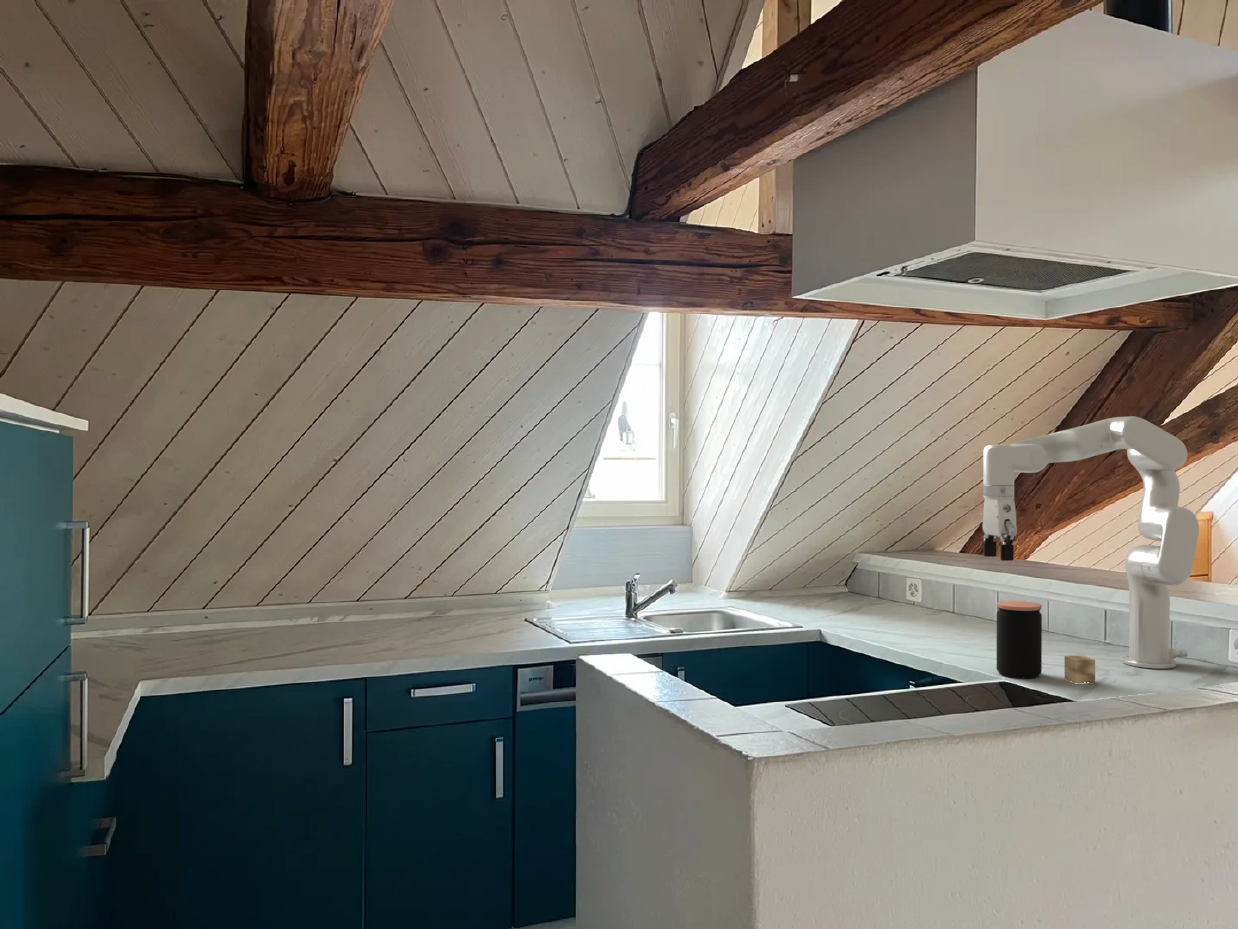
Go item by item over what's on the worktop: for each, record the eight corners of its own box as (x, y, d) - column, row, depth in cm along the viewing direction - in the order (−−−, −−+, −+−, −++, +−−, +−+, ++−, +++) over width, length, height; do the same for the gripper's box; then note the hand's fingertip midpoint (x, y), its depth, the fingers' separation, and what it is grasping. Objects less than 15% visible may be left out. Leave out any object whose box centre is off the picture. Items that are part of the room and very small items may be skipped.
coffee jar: (1030, 669, 259) (1030, 600, 258) (1049, 679, 248) (1049, 607, 248) (989, 670, 258) (989, 600, 258) (1007, 679, 248) (1007, 607, 247)
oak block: (1083, 679, 248) (1083, 655, 248) (1095, 684, 243) (1095, 659, 243) (1064, 680, 247) (1064, 655, 247) (1075, 684, 242) (1075, 660, 242)
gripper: (1028, 493, 249) (1028, 562, 249) (997, 490, 267) (997, 554, 267) (999, 493, 249) (999, 562, 249) (970, 491, 266) (970, 555, 266)
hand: (998, 558), depth 258 cm, fingers open, 9 cm apart
